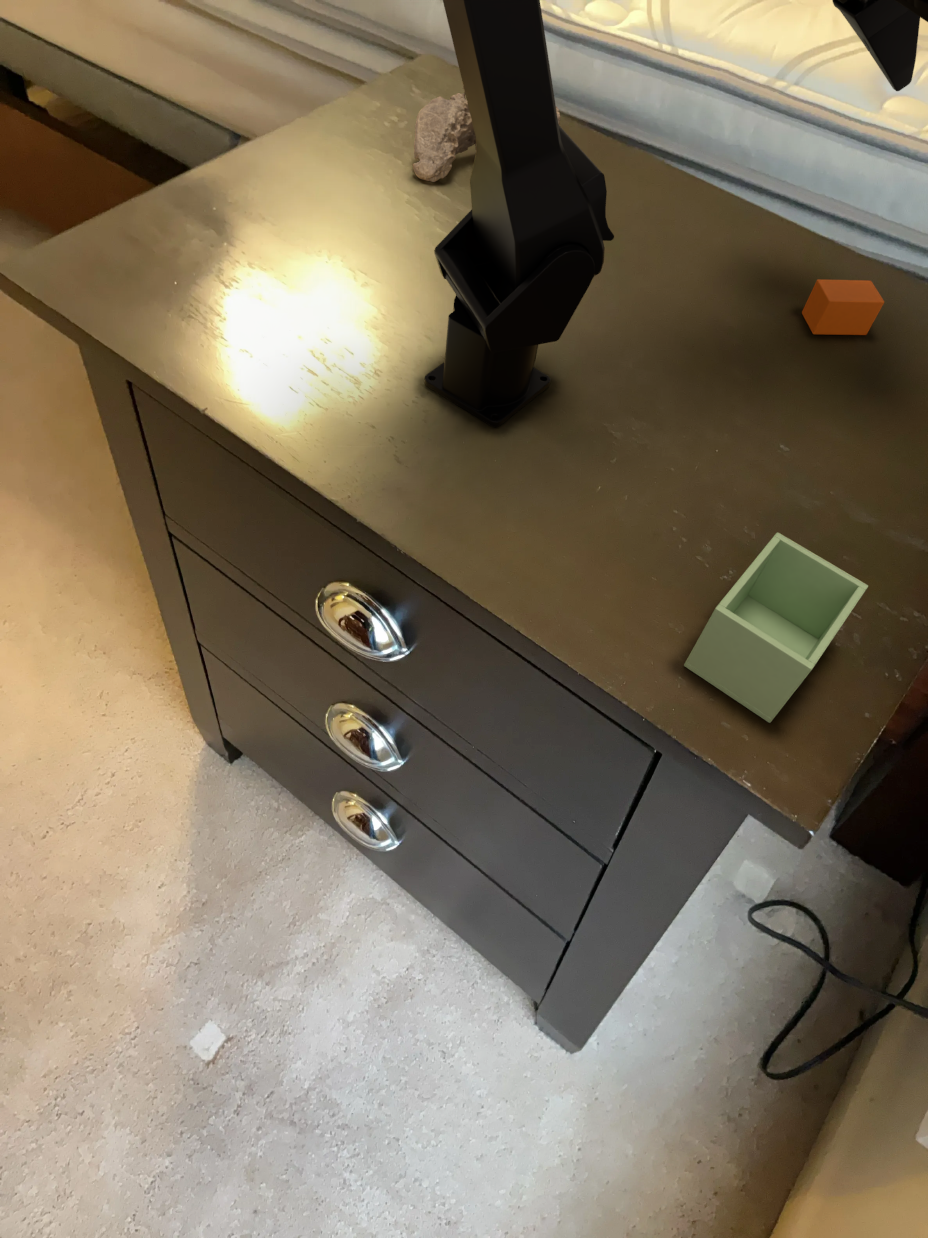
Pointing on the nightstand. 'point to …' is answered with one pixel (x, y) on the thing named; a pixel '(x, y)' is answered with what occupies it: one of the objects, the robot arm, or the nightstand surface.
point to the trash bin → (774, 626)
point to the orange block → (842, 307)
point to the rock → (443, 135)
